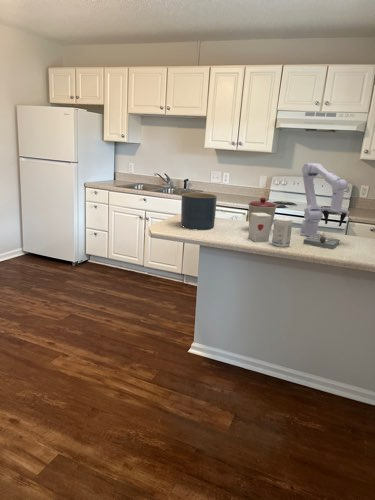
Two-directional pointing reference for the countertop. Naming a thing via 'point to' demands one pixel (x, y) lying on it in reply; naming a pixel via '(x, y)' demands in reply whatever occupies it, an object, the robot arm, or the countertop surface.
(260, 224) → the supplement box
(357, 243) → the countertop surface
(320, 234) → the cream ball
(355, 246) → the countertop surface
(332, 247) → the grey board with rails
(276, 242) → the supplement tub
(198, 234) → the countertop surface
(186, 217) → the planter
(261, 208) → the canister
